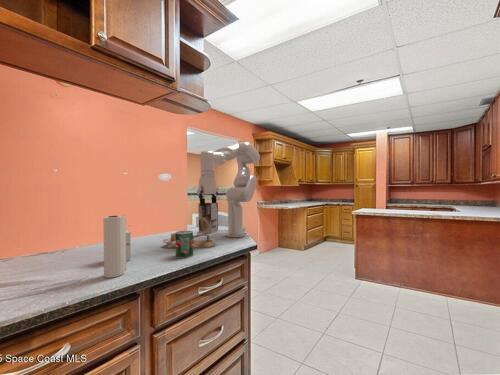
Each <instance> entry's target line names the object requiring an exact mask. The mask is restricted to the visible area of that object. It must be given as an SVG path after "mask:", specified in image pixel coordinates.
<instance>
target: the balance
mask: <svg viewBox="0 0 500 375" xmlns="http://www.w3.org/2000/svg"><path fill="white" fill-rule="evenodd" d="M219 234H220V231H219V230H218V232H215V233H200V232H199V231H197V232H196V235H193V248H204V247H206V248H210V247H214V245H215V239H210V237H211V236H216V235H217V236H218V235H219ZM175 236H176V232H174V233H170V237H169V238H166V239H163V240H162V242H163V243H164V244H167V245H166V246H167V248H168V249H169V248H170V249H171V248H175V249H176V239H175V238H176V237H175ZM199 237H206V239H195V238H199Z"/></svg>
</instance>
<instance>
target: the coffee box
mask: <svg viewBox="0 0 500 375" xmlns="http://www.w3.org/2000/svg"><path fill="white" fill-rule="evenodd" d="M218 204H219V203H218V202H217V203H211V202H205V206H200V202H199V203H198V205H197V207H198V208H197V209H198V213H197V214H198V232H200V233H215V232H218V231H219V211H218V209H219V205H218Z"/></svg>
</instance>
